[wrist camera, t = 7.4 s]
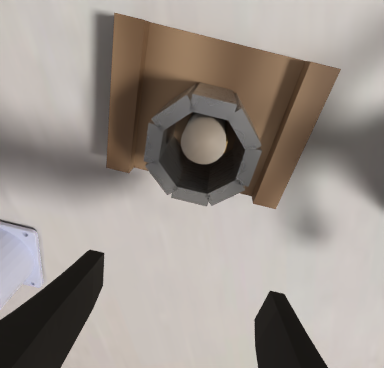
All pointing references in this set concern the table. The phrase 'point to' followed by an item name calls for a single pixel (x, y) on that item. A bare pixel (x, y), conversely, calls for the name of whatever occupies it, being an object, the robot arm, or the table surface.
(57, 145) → the table surface
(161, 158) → the tube
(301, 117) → the shaft block
